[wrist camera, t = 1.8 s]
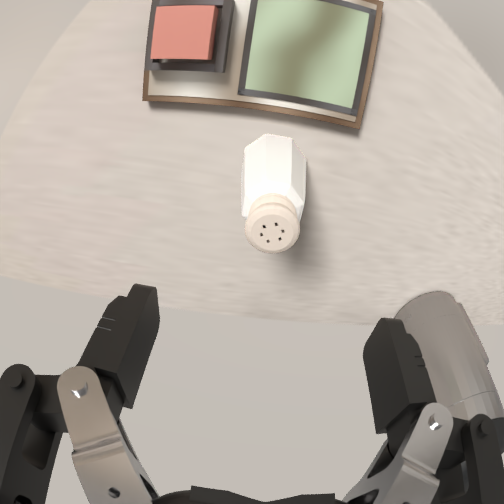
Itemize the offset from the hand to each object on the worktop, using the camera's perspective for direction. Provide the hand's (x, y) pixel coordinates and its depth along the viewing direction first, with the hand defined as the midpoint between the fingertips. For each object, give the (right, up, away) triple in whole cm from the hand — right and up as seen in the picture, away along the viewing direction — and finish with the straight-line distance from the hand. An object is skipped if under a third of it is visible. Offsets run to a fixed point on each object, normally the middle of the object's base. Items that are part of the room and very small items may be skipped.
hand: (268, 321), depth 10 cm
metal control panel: (0, +18, +8) cm, 20 cm away
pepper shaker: (+1, +10, +14) cm, 17 cm away
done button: (-5, +18, +6) cm, 19 cm away
